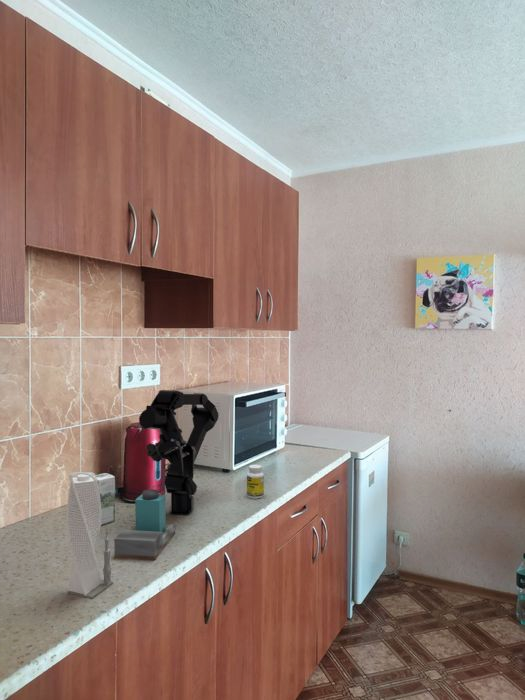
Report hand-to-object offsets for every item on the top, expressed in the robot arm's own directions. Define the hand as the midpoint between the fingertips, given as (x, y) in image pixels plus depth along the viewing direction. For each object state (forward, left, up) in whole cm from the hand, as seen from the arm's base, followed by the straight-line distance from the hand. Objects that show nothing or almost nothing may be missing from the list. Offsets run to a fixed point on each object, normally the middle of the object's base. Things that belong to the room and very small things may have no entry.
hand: (186, 476), depth 146 cm
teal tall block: (-8, -9, -15) cm, 19 cm away
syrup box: (-28, +2, -16) cm, 32 cm away
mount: (-8, -12, -16) cm, 22 cm away
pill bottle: (+16, +32, -16) cm, 39 cm away
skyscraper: (-13, -37, -16) cm, 42 cm away
